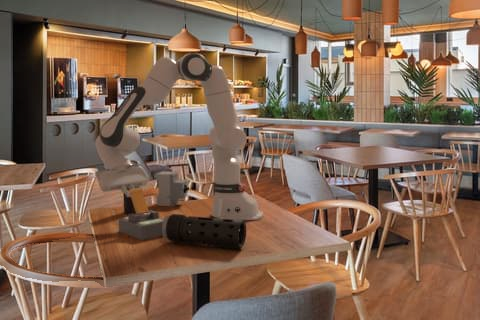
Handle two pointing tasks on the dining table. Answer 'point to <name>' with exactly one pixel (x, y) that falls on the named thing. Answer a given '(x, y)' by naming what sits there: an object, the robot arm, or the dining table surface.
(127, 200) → the bottle
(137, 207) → the lever
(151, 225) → the panel
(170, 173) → the circuit breaker
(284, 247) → the dining table surface
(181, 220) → the muzzle brake
